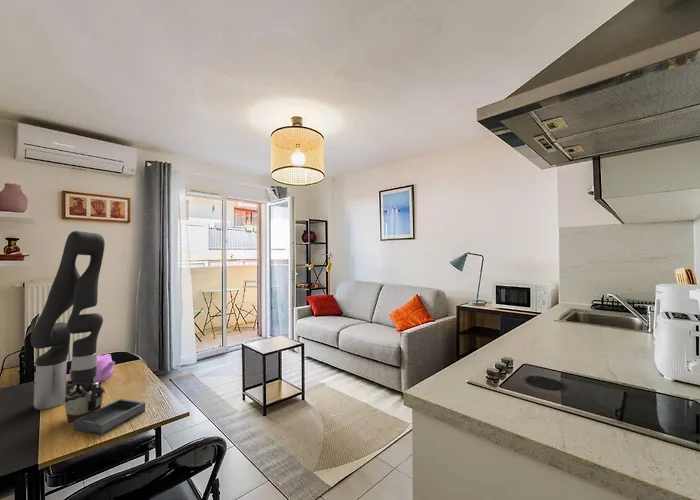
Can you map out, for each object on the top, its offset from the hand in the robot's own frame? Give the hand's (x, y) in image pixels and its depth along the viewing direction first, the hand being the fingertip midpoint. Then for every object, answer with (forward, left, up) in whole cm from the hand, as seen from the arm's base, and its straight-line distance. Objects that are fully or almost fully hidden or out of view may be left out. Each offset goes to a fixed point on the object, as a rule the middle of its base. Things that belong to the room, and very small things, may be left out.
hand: (83, 408), depth 118 cm
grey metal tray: (+13, +1, -3) cm, 13 cm away
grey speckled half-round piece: (0, 0, -3) cm, 3 cm away
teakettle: (-32, +27, -4) cm, 42 cm away
